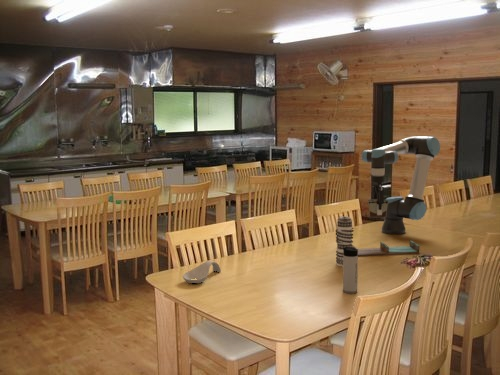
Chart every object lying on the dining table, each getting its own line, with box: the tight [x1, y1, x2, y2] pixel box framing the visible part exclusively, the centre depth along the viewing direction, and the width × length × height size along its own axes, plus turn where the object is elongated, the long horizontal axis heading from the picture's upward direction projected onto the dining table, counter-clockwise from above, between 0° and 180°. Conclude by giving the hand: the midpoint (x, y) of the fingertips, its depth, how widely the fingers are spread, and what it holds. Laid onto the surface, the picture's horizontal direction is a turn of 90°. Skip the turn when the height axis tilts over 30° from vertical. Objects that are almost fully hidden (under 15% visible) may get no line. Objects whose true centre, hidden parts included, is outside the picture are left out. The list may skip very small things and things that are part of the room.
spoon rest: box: [182, 260, 222, 284], centre depth 243 cm, size 24×12×7 cm, turn 149°
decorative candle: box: [335, 215, 355, 268], centre depth 260 cm, size 9×9×25 cm
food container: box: [367, 198, 389, 218], centre depth 298 cm, size 12×6×10 cm, turn 84°
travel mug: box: [342, 247, 359, 295], centre depth 221 cm, size 6×7×20 cm
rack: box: [352, 240, 421, 257], centre depth 283 cm, size 12×36×5 cm, turn 95°
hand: (377, 213), depth 298 cm, fingers closed on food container, 6 cm apart
